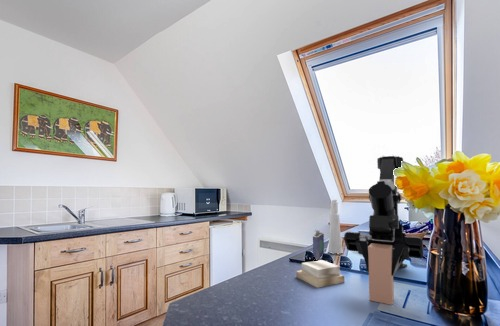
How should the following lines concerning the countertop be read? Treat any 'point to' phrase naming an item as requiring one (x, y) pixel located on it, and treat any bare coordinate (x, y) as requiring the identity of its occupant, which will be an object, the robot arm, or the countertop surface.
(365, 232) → the medicine box
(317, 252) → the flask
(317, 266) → the tower top slab
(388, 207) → the robot arm
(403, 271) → the countertop surface
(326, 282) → the tower base slab
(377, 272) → the pillar
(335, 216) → the cosmetic bottle
